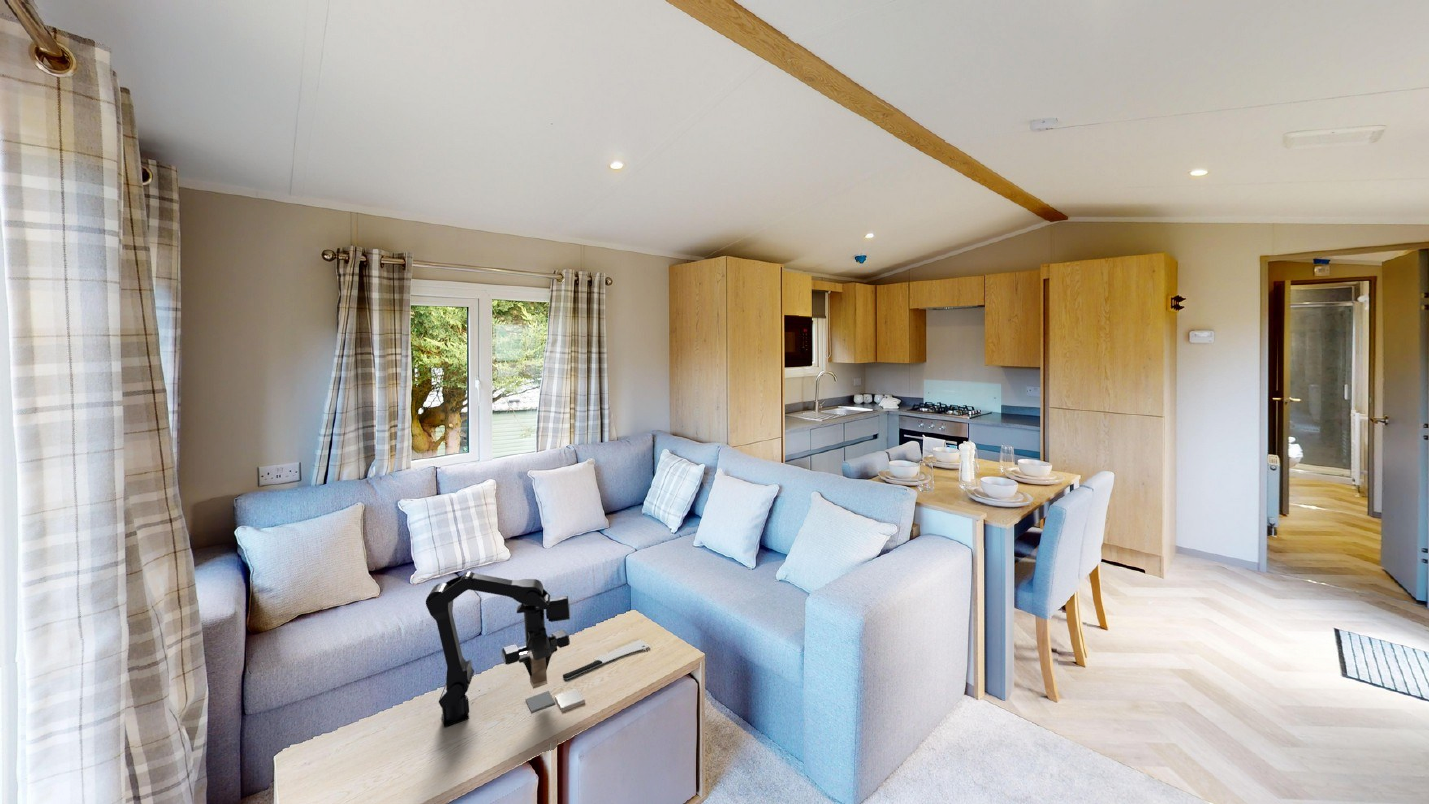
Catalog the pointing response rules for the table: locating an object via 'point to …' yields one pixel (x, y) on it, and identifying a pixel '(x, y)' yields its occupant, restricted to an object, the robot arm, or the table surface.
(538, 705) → the pad
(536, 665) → the wooden post stub
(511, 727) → the table surface
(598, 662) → the kitchen cleaver
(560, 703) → the tile
